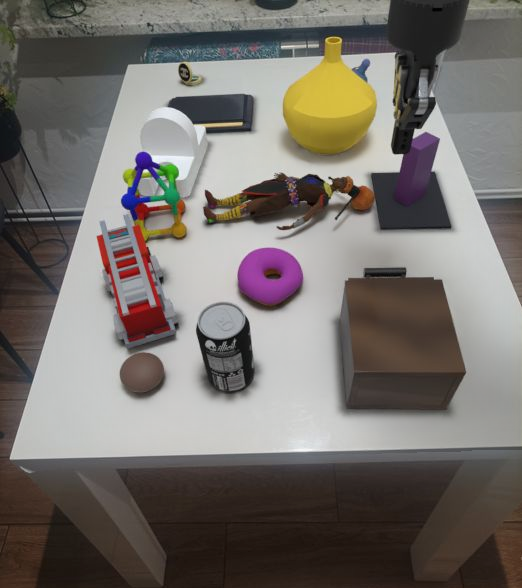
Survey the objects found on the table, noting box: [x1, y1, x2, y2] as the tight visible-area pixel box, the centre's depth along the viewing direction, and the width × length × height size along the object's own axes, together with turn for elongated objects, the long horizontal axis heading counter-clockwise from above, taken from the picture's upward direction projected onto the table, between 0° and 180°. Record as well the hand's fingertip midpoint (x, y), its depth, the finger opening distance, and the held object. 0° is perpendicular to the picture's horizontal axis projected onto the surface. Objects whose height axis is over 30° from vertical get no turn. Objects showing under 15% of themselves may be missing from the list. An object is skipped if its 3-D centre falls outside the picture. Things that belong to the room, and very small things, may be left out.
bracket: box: [137, 106, 209, 199], centre depth 92 cm, size 19×10×11 cm, turn 172°
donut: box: [236, 247, 304, 307], centre depth 74 cm, size 10×10×5 cm
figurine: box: [202, 172, 376, 231], centre depth 85 cm, size 16×8×30 cm
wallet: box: [167, 93, 255, 134], centre depth 107 cm, size 20×2×15 cm
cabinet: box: [339, 278, 467, 410], centre depth 62 cm, size 15×13×9 cm
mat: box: [370, 171, 453, 230], centre depth 86 cm, size 12×16×1 cm
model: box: [120, 151, 188, 242], centre depth 80 cm, size 11×10×15 cm
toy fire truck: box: [96, 213, 180, 350], centre depth 71 cm, size 9×19×10 cm, turn 20°
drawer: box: [347, 266, 435, 280], centre depth 65 cm, size 18×12×7 cm, turn 178°
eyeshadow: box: [177, 61, 203, 86], centre depth 116 cm, size 4×5×5 cm
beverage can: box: [195, 301, 255, 392], centre depth 61 cm, size 7×7×12 cm
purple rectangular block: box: [394, 131, 441, 207], centre depth 82 cm, size 5×3×11 cm, turn 128°
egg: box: [119, 351, 165, 393], centre depth 65 cm, size 6×6×4 cm
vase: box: [282, 36, 378, 156], centre depth 91 cm, size 18×18×19 cm
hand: (399, 151), depth 60 cm, fingers closed
